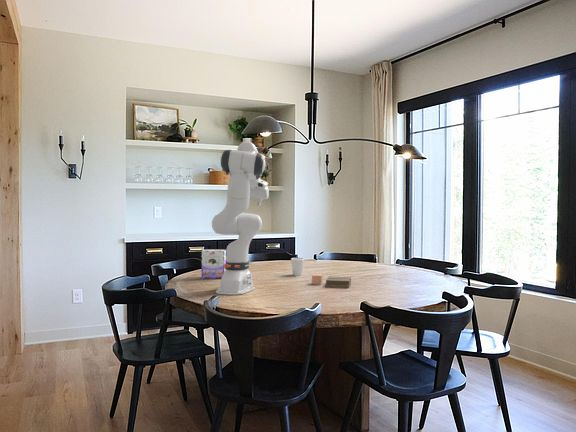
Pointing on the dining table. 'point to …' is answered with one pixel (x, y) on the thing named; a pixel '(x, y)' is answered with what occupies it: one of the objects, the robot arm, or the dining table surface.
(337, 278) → the walnut block
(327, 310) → the dining table surface
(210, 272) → the candy box
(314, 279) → the terracotta cube
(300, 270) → the dixie cup
